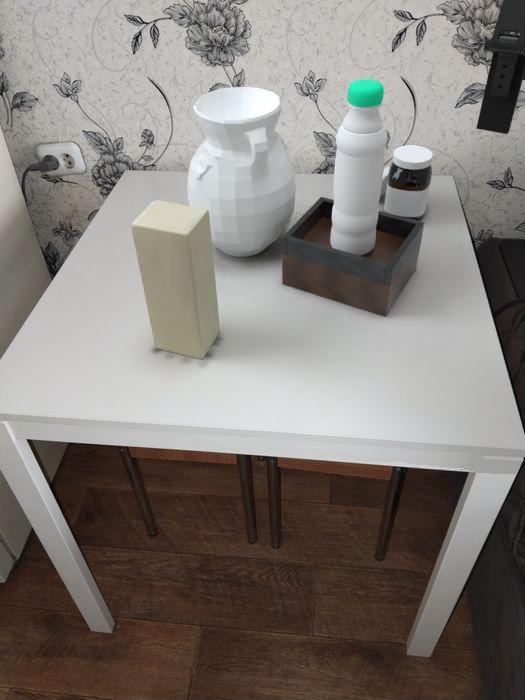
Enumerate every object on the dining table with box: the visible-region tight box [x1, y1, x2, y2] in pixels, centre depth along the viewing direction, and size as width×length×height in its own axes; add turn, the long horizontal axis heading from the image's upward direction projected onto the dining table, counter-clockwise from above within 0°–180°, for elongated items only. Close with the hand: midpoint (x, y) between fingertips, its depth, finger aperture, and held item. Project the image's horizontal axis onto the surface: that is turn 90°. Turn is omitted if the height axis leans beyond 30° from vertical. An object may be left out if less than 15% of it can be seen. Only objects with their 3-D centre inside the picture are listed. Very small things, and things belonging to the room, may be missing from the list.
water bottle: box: [330, 78, 388, 256], centre depth 85 cm, size 7×7×25 cm
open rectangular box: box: [281, 196, 425, 318], centre depth 95 cm, size 18×14×9 cm
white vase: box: [186, 86, 297, 258], centre depth 98 cm, size 19×18×25 cm
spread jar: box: [380, 144, 434, 221], centre depth 109 cm, size 12×11×12 cm
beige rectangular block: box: [130, 199, 221, 360], centre depth 81 cm, size 8×7×21 cm
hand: (510, 103), depth 56 cm, fingers open, 13 cm apart
